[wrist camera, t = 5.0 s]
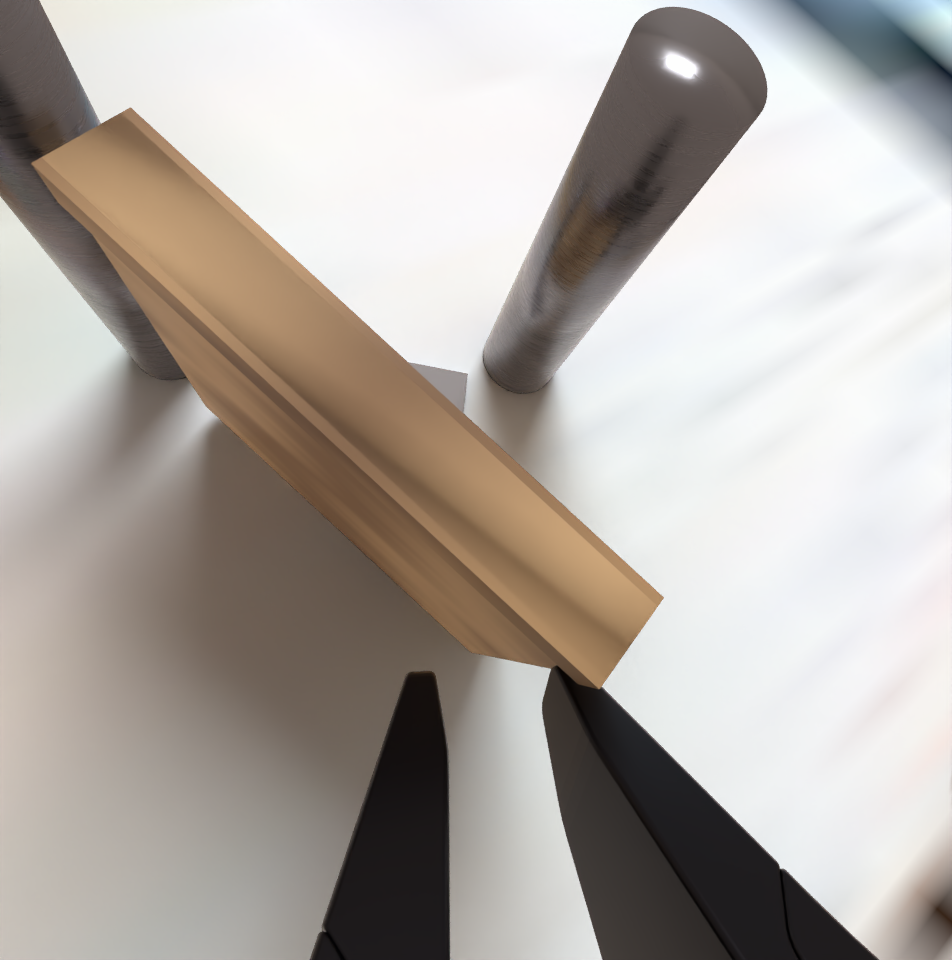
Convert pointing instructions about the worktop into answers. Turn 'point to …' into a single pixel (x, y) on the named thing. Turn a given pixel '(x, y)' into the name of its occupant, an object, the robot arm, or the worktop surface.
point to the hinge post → (9, 173)
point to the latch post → (626, 184)
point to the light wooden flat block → (348, 414)
